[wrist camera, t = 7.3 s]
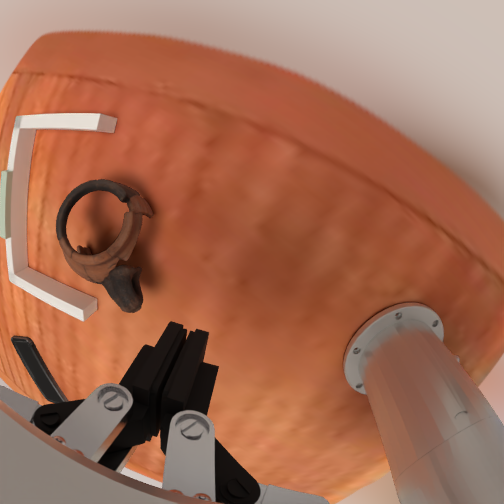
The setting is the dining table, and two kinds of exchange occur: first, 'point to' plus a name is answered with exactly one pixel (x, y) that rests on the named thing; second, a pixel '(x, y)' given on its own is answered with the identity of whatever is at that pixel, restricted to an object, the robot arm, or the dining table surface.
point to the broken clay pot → (104, 264)
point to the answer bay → (15, 209)
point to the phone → (38, 369)
